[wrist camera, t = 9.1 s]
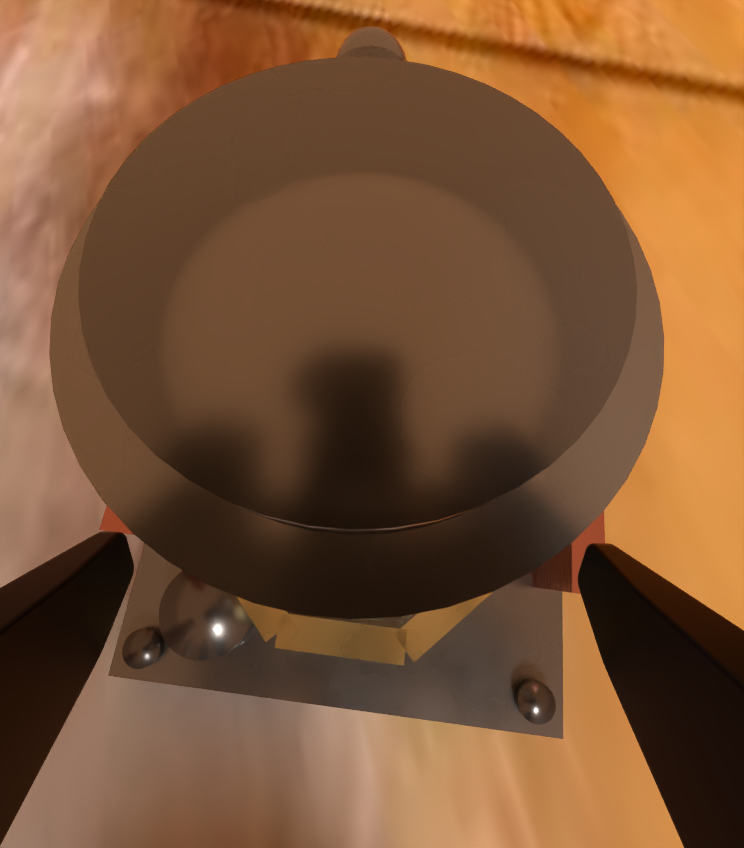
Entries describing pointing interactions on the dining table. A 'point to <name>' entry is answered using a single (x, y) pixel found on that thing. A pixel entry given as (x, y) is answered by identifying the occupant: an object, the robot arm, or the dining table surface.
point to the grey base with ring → (361, 647)
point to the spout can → (357, 338)
